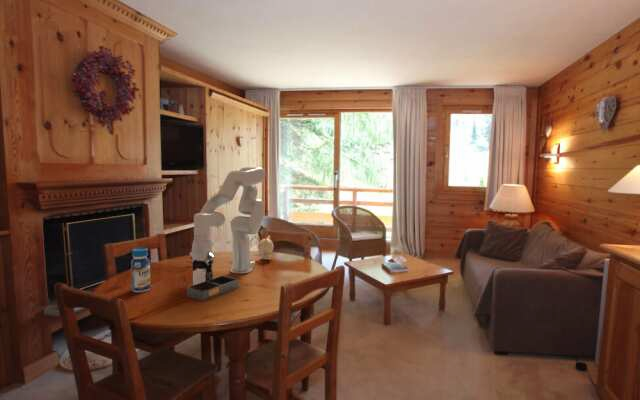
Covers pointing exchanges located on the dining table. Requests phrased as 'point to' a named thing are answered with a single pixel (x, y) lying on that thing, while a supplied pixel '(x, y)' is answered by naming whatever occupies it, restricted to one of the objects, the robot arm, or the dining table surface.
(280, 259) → the dining table surface
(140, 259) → the beverage bottle
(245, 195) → the robot arm
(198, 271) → the medicine bottle
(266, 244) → the kitten
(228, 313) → the dining table surface
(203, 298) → the rack
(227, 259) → the dining table surface
